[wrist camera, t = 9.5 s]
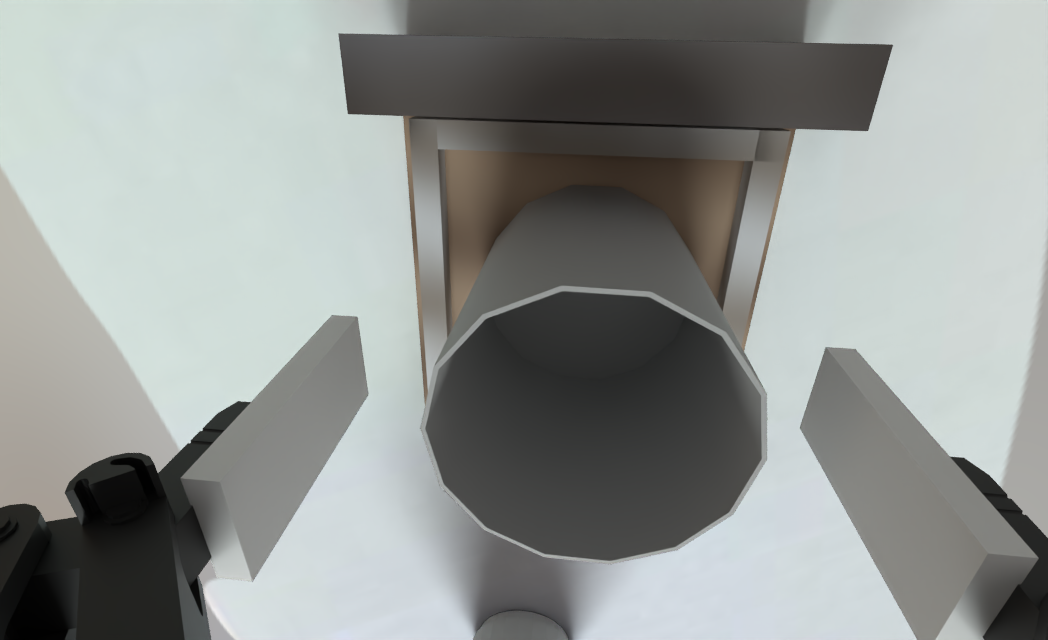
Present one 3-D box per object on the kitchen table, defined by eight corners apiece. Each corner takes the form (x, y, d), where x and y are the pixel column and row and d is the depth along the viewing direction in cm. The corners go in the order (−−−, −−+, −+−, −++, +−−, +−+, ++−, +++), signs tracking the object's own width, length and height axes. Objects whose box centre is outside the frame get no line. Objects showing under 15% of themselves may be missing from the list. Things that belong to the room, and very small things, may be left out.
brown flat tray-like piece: (406, 39, 20) (338, 33, 14) (803, 47, 18) (893, 44, 13) (431, 401, 27) (392, 488, 21) (718, 424, 26) (754, 522, 20)
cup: (711, 192, 20) (813, 302, 11) (676, 379, 24) (731, 577, 15) (485, 180, 21) (409, 275, 12) (486, 364, 24) (428, 544, 15)
